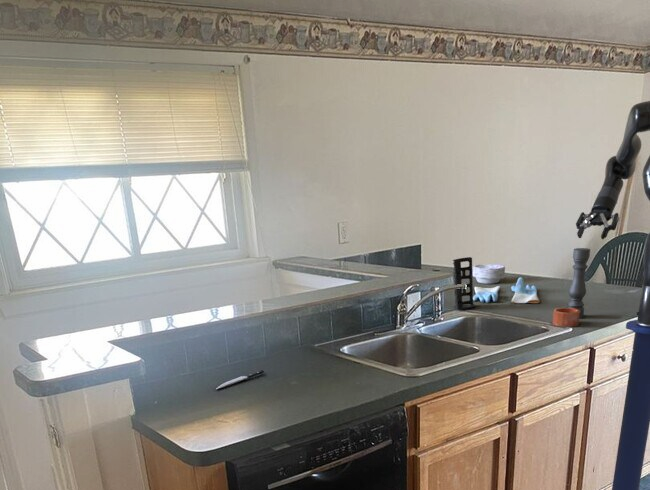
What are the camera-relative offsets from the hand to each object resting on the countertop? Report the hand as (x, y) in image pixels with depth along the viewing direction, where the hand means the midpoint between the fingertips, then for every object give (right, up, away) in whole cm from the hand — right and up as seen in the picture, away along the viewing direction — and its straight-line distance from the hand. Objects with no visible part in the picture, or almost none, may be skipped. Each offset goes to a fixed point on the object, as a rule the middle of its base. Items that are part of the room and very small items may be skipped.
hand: (590, 237), depth 242 cm
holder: (-42, -21, +29) cm, 55 cm away
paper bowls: (-19, +1, +77) cm, 79 cm away
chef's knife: (-125, -57, -48) cm, 145 cm away
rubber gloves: (-19, -12, +46) cm, 51 cm away
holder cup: (-10, -33, -3) cm, 35 cm away
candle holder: (-4, -29, +6) cm, 29 cm away
